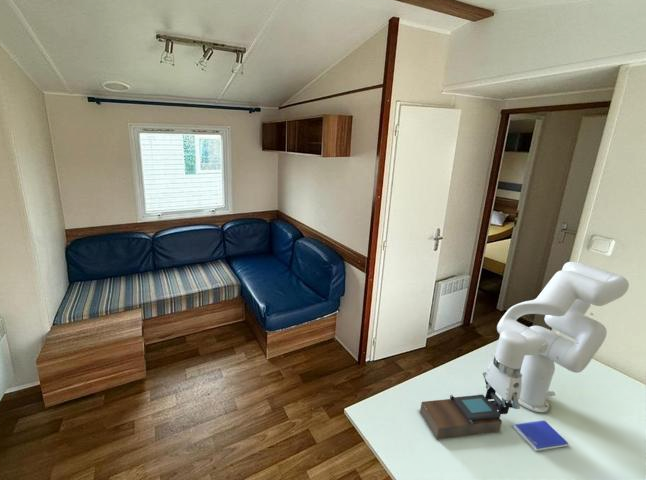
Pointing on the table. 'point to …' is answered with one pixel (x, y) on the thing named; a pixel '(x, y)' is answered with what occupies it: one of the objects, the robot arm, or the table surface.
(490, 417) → the device
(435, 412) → the stand
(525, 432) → the hard drive
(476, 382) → the table surface
